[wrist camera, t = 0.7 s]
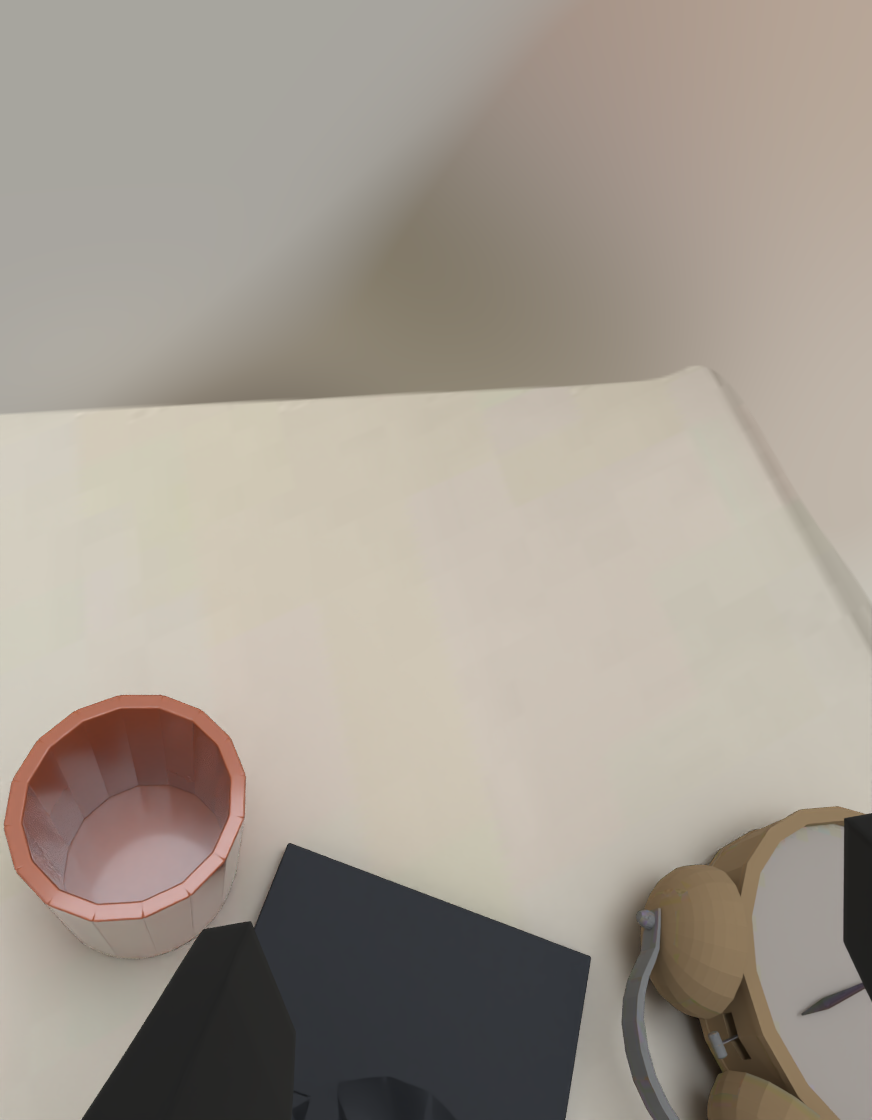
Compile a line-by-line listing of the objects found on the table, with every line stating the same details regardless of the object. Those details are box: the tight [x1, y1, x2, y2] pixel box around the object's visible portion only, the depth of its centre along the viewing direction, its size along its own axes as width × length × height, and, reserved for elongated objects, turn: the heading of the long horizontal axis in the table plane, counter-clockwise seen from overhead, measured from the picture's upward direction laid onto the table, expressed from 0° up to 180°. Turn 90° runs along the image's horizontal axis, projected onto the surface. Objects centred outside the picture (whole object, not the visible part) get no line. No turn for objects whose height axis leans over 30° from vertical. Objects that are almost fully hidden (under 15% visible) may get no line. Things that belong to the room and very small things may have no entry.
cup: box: [4, 695, 246, 959], centre depth 23 cm, size 6×6×8 cm
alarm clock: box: [622, 806, 872, 1120], centre depth 27 cm, size 11×5×15 cm
